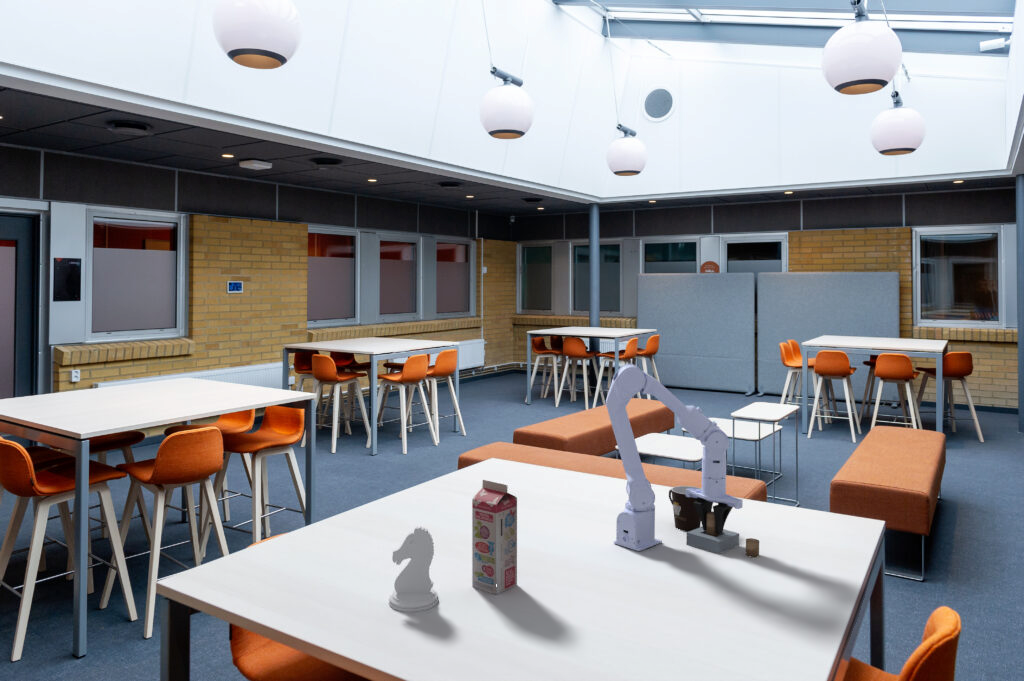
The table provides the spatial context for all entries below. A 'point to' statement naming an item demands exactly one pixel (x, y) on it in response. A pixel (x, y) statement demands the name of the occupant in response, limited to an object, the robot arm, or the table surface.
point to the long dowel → (711, 524)
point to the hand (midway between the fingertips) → (712, 531)
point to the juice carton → (494, 538)
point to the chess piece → (414, 574)
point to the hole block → (712, 540)
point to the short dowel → (752, 547)
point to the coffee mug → (684, 509)
